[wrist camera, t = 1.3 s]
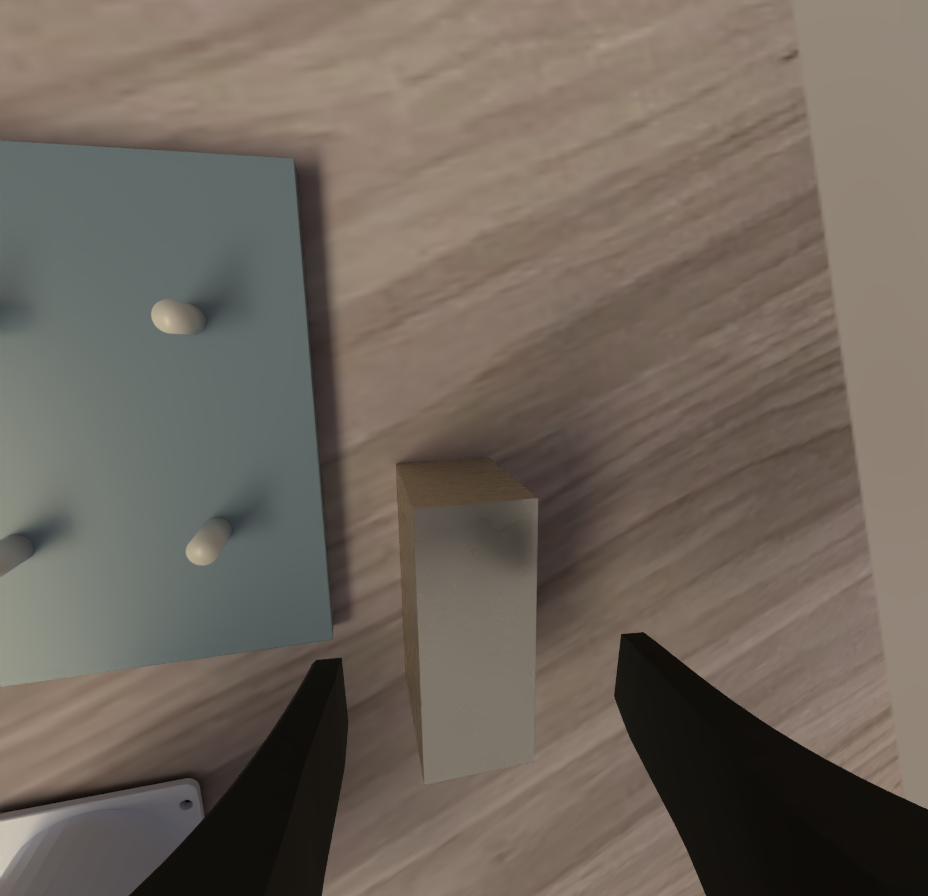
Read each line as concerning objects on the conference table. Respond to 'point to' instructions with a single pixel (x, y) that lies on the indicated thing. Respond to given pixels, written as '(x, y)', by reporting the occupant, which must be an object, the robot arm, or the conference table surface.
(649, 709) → the robot arm
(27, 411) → the tray
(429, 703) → the beige rectangular block
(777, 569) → the conference table surface
